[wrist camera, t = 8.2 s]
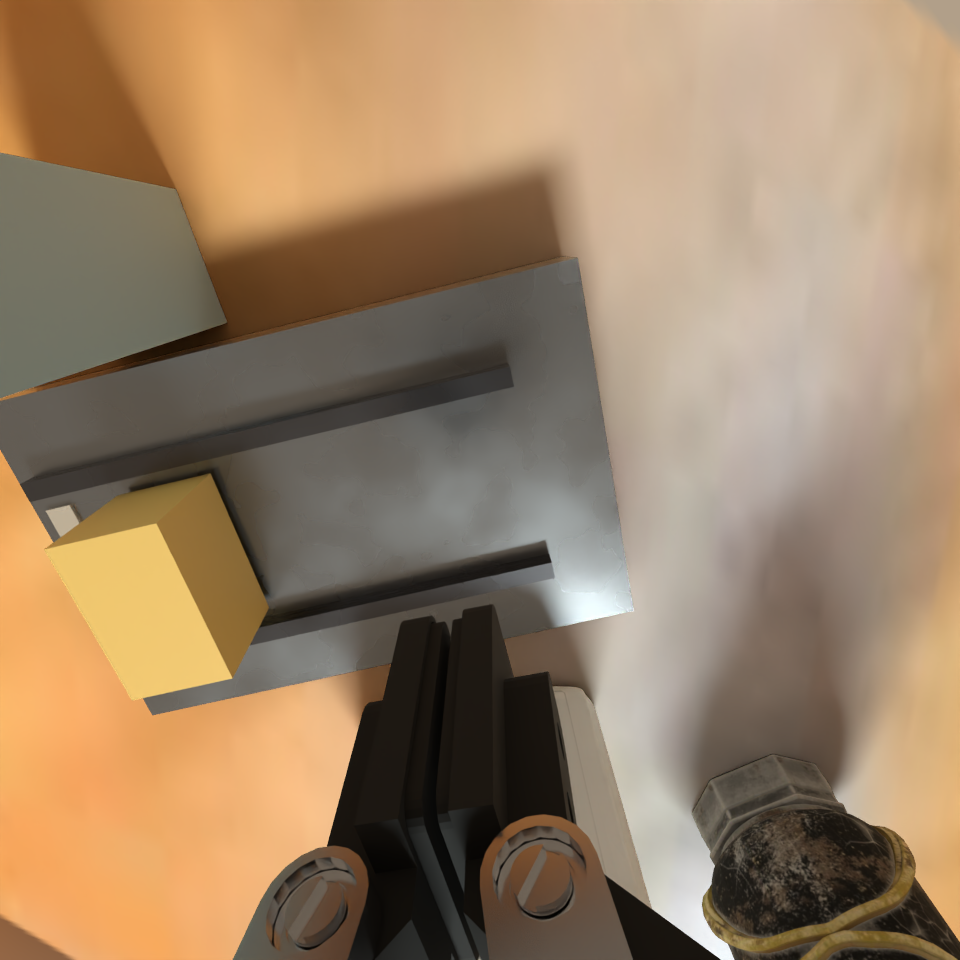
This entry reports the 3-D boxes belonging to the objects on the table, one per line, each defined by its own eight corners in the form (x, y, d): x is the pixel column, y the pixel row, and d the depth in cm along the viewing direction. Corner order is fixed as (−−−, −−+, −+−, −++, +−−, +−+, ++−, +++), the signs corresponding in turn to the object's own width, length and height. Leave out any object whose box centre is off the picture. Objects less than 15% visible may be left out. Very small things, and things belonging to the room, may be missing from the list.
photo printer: (370, 773, 27) (305, 1176, 15) (351, 699, 25) (262, 1086, 13) (596, 747, 26) (705, 1131, 15) (592, 670, 25) (710, 1035, 13)
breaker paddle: (210, 473, 18) (156, 523, 15) (269, 607, 20) (232, 678, 17) (117, 495, 18) (44, 549, 15) (184, 626, 20) (131, 700, 17)
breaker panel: (562, 256, 19) (581, 258, 16) (615, 574, 23) (638, 620, 20) (32, 387, 20) (-41, 412, 17) (181, 669, 24) (144, 727, 21)
